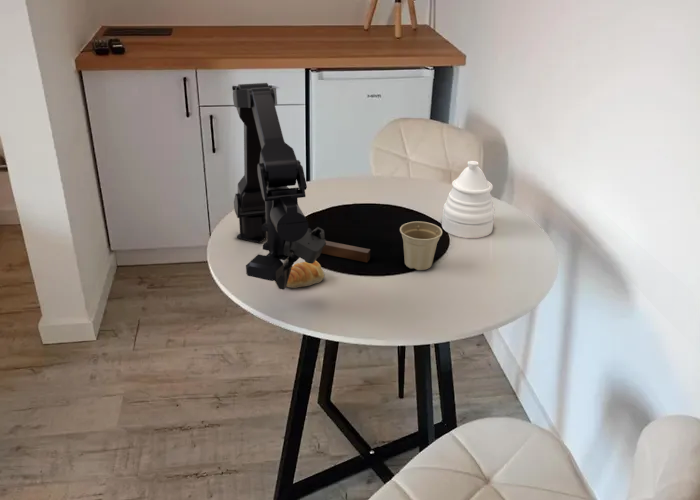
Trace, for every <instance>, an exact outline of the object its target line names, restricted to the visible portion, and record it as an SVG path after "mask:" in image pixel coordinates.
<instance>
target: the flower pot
mask: <svg viewBox="0 0 700 500" xmlns="http://www.w3.org/2000/svg"><path fill="white" fill-rule="evenodd" d="M399 232H400V234H401V237H402V243H403V244H402V245H403V256H404V265H405V266H406V267H407V268H409V269H415V270H416V271H425V270H428V269H430V268H431V267H432V265H433V263H434V258H435V254H436V250H437V246H438V245H437V244H438V242H439V240H440V238H441V237H442V235H443V228H441V227H440V226H438V225H437V224H435V223H431V222H427V221H419V220H418V221H410V222H407V223H403V224H401V226H400V227H399Z"/></svg>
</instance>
